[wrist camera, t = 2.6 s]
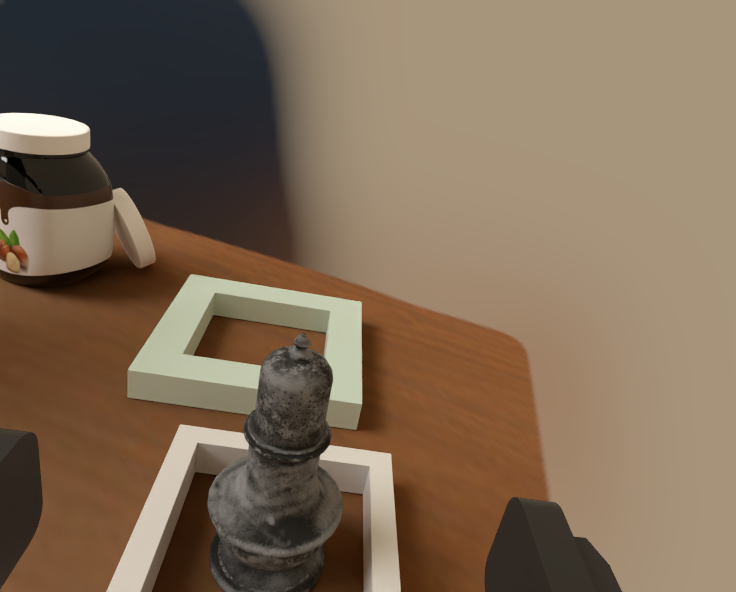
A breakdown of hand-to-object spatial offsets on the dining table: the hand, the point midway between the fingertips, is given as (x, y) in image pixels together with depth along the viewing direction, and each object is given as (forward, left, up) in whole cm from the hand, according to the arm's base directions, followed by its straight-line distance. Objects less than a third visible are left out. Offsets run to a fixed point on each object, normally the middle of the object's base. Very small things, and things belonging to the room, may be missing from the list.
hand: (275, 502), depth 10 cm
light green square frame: (+20, +20, -15) cm, 32 cm away
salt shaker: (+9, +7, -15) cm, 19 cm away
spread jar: (+16, +39, -15) cm, 45 cm away
